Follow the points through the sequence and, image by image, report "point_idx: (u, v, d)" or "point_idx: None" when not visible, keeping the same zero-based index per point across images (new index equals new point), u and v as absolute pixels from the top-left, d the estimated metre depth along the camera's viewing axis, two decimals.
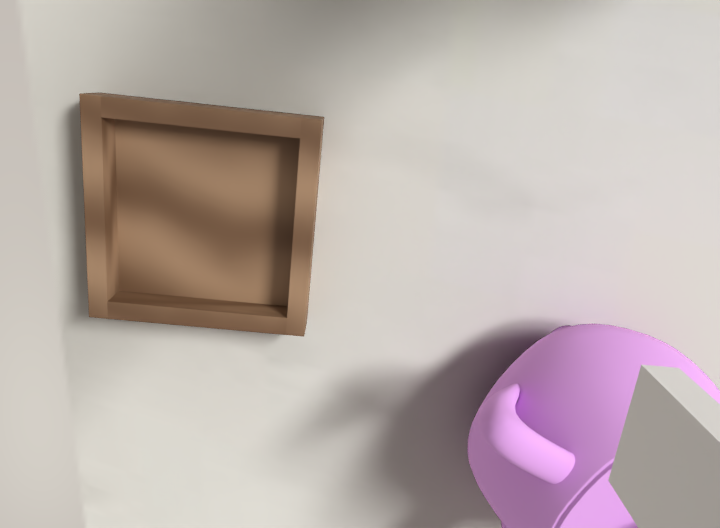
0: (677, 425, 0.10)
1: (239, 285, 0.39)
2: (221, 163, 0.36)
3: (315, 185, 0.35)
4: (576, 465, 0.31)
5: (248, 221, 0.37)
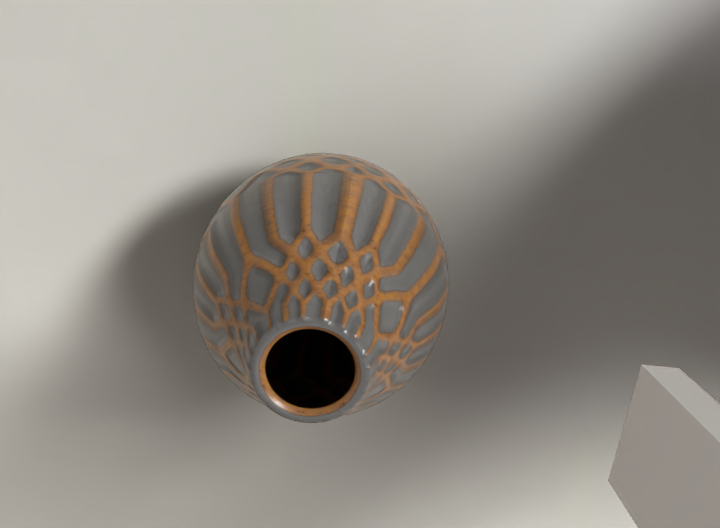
0: (677, 425, 0.10)
1: None
2: None
3: None
4: None
5: None
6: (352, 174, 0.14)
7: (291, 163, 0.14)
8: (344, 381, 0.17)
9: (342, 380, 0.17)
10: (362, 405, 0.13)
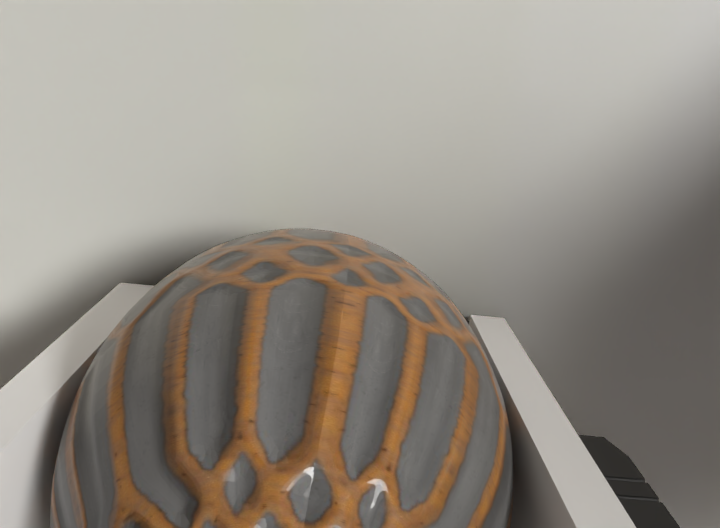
0: None
1: None
2: None
3: None
4: None
5: None
6: (345, 289, 0.07)
7: (234, 261, 0.08)
8: None
9: None
10: None
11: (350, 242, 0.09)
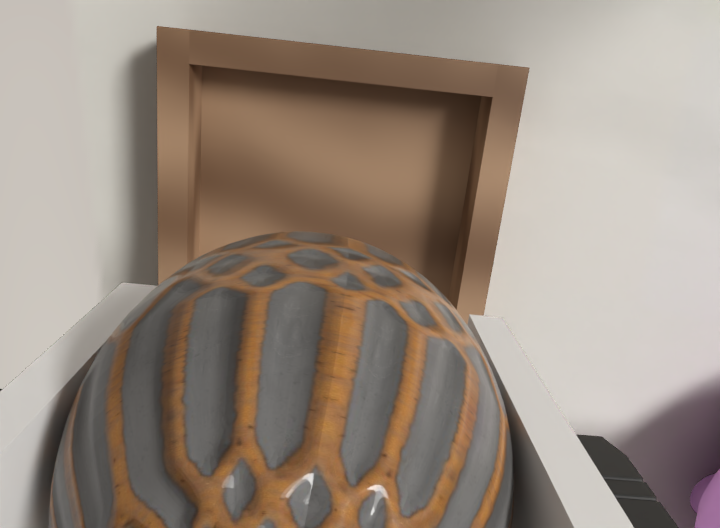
0: None
1: None
2: (356, 138, 0.24)
3: (508, 169, 0.23)
4: None
5: (390, 224, 0.26)
6: (345, 293, 0.07)
7: (234, 264, 0.08)
8: None
9: None
10: None
11: (350, 245, 0.09)
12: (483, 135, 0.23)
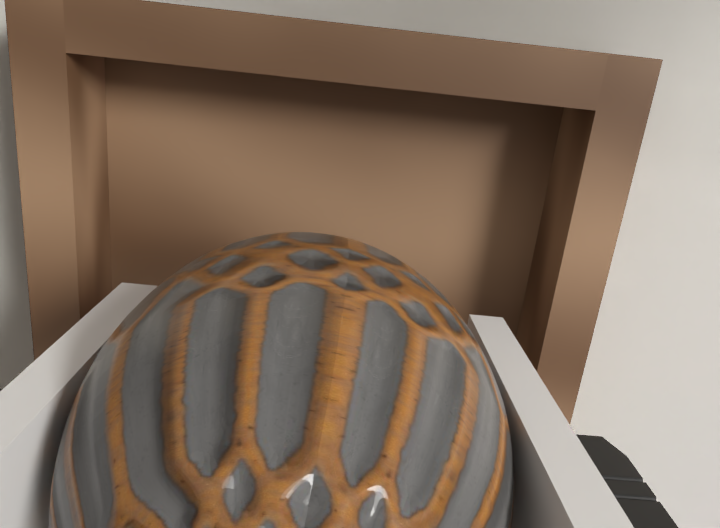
0: None
1: None
2: (360, 175, 0.15)
3: (615, 232, 0.14)
4: None
5: None
6: (344, 294, 0.07)
7: (234, 265, 0.08)
8: None
9: None
10: None
11: (350, 246, 0.09)
12: (572, 174, 0.14)
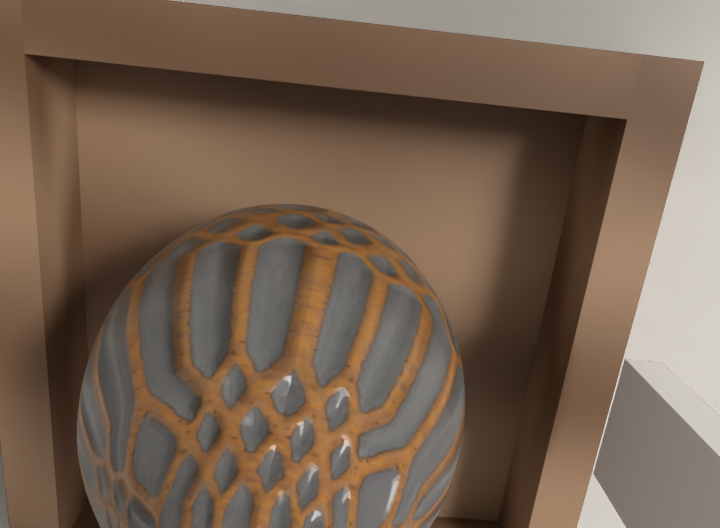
0: (658, 418, 0.10)
1: None
2: (360, 189, 0.14)
3: (647, 255, 0.12)
4: None
5: None
6: (321, 246, 0.09)
7: (230, 225, 0.10)
8: None
9: None
10: None
11: (329, 213, 0.11)
12: (599, 189, 0.12)
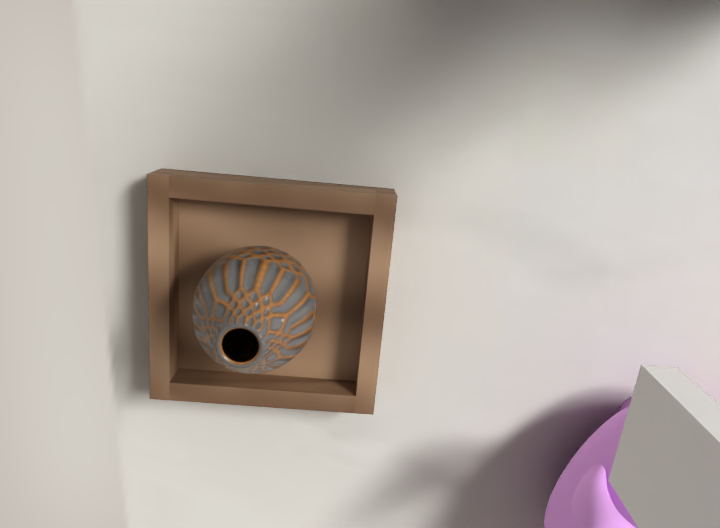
0: (677, 425, 0.10)
1: (303, 360, 0.37)
2: (287, 238, 0.35)
3: (388, 262, 0.34)
4: None
5: None
6: (265, 260, 0.30)
7: (238, 253, 0.31)
8: None
9: None
10: (268, 365, 0.30)
11: (270, 249, 0.32)
12: (371, 238, 0.34)
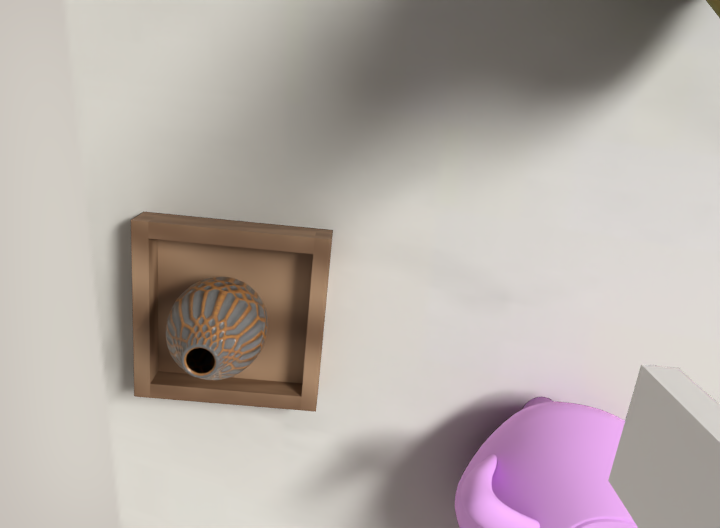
0: (677, 425, 0.10)
1: (260, 366, 0.46)
2: (246, 268, 0.43)
3: (325, 290, 0.42)
4: None
5: (268, 315, 0.44)
6: (223, 291, 0.39)
7: (202, 285, 0.39)
8: None
9: None
10: (224, 374, 0.38)
11: (229, 281, 0.40)
12: None
